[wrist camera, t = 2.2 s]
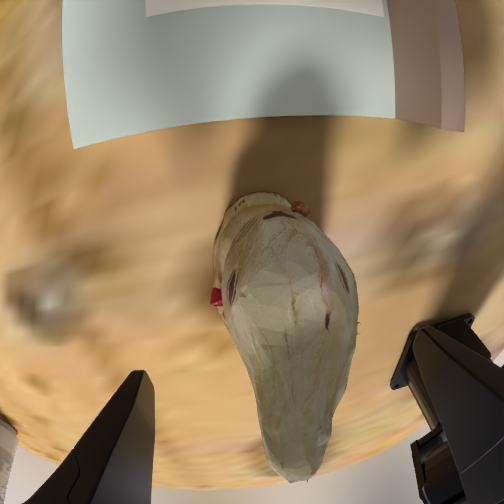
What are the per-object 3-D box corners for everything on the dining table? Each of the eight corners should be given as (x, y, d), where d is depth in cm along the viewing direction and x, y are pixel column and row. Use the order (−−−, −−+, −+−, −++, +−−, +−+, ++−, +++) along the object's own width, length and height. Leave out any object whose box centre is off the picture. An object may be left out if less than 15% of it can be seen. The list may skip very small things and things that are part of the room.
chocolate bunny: (352, 210, 13) (504, 381, 4) (276, 334, 16) (319, 510, 7) (239, 160, 11) (314, 374, 3) (179, 309, 14) (164, 511, 6)
